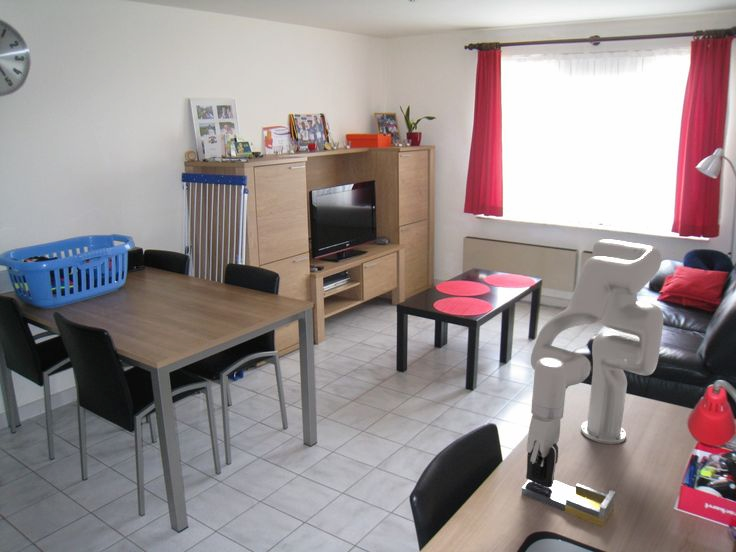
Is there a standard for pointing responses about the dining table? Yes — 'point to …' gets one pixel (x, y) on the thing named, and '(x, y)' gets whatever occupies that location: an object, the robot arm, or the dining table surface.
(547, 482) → the battery charger
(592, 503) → the grey and yellow block
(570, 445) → the dining table surface
